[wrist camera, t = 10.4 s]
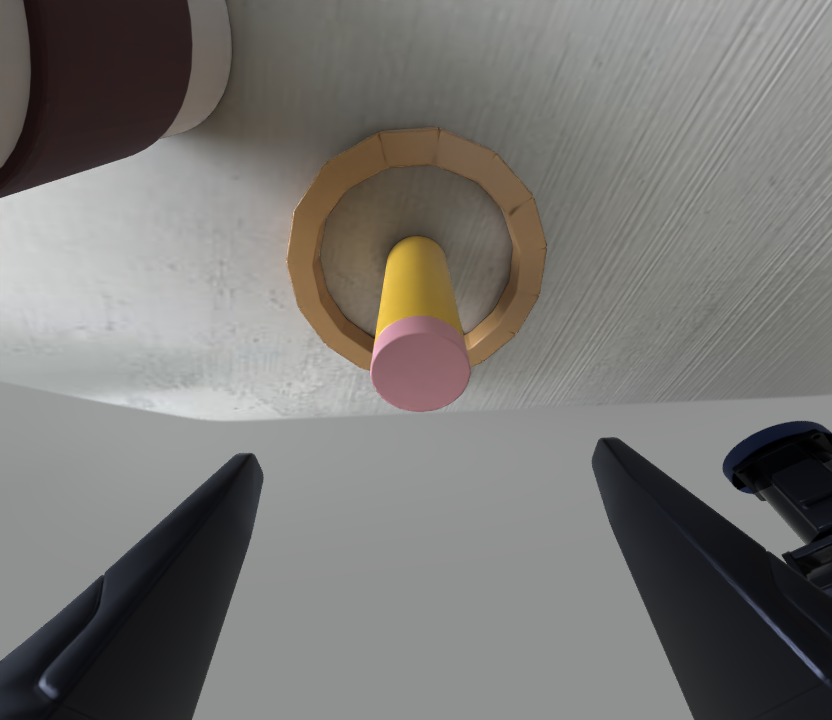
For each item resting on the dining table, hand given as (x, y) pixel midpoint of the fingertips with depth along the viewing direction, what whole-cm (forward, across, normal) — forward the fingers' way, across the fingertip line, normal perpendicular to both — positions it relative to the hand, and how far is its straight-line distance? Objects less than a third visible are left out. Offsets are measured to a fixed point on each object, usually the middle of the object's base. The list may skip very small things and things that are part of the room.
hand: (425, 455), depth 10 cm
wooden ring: (+11, 0, -1) cm, 11 cm away
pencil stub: (+11, 0, -1) cm, 11 cm away
